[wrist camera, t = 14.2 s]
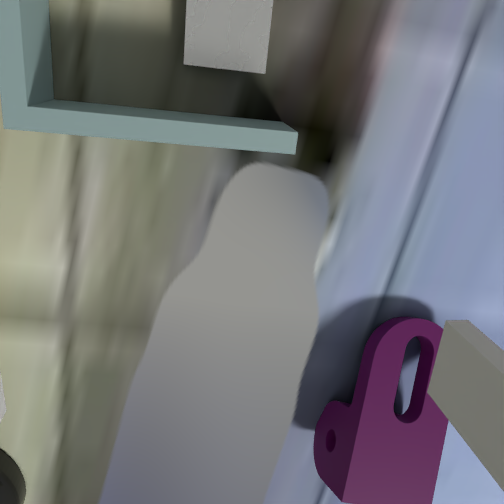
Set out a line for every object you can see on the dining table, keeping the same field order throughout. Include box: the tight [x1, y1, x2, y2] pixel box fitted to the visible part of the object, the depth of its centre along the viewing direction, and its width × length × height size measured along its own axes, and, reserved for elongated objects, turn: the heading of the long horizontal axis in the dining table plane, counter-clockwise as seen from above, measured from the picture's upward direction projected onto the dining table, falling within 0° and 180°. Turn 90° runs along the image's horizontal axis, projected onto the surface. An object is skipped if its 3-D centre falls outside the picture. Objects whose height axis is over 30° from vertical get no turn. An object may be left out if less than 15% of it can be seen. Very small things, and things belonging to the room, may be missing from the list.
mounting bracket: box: [314, 317, 448, 504], centre depth 47 cm, size 9×8×18 cm
